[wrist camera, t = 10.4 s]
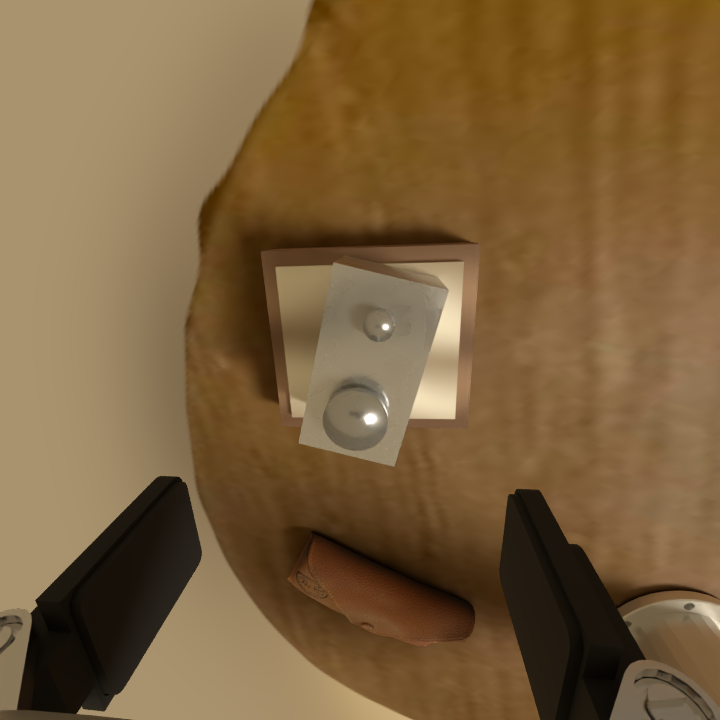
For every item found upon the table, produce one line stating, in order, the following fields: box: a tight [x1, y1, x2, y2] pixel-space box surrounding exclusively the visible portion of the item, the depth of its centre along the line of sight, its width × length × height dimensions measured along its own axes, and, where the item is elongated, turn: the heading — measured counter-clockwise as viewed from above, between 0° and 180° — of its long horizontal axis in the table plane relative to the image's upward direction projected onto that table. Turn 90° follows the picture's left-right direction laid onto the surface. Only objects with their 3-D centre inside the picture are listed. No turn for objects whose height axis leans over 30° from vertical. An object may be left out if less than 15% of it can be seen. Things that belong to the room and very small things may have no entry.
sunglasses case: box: [287, 533, 475, 646], centre depth 37 cm, size 18×7×7 cm
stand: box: [261, 242, 480, 429], centre depth 27 cm, size 13×14×3 cm
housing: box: [299, 255, 449, 466], centre depth 22 cm, size 6×11×6 cm, turn 167°
